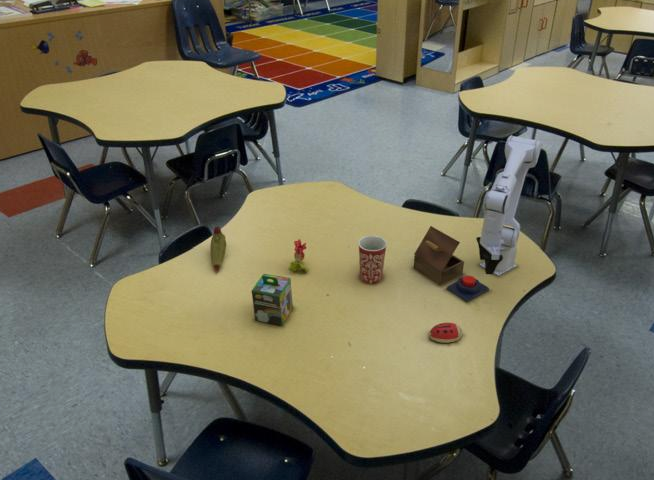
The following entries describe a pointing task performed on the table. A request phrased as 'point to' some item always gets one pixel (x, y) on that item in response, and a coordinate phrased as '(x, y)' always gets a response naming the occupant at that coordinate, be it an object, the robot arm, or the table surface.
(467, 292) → the button block
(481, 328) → the table surface
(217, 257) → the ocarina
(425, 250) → the box lid
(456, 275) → the brown box
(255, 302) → the chalk box
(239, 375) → the table surface
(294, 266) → the bird rattle
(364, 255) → the mug
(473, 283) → the buzzer button
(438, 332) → the watermelon slice
